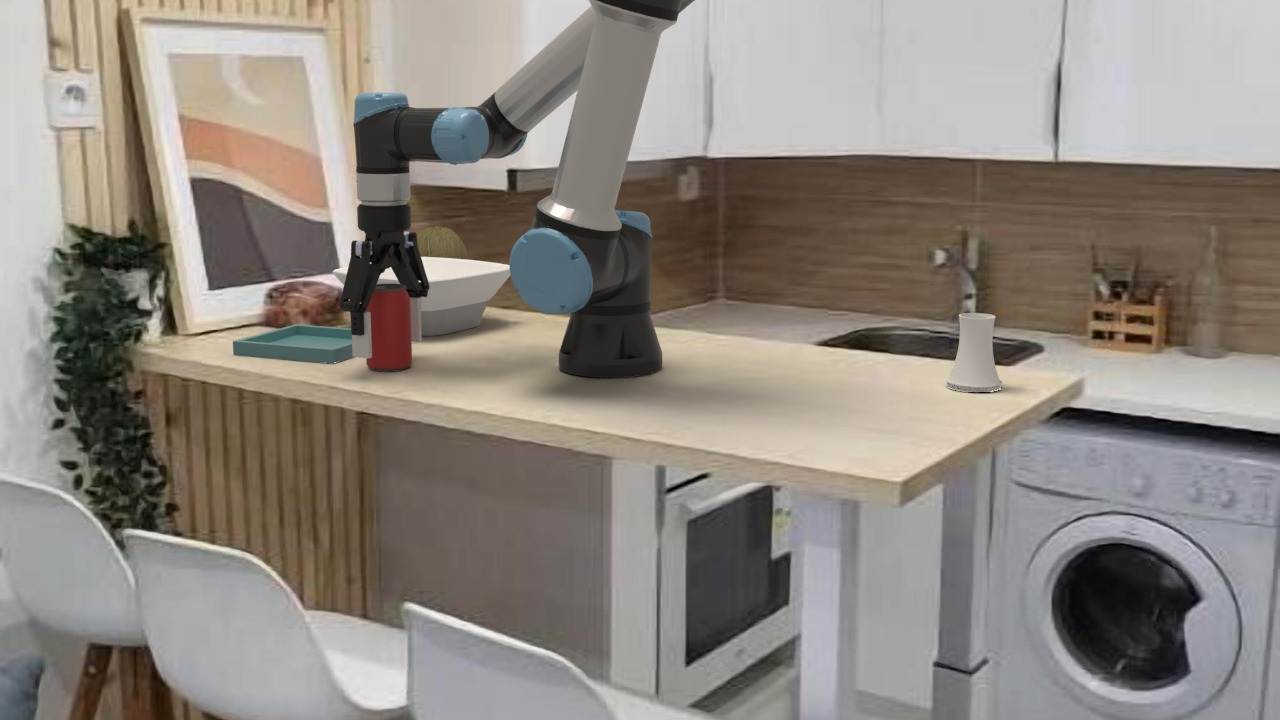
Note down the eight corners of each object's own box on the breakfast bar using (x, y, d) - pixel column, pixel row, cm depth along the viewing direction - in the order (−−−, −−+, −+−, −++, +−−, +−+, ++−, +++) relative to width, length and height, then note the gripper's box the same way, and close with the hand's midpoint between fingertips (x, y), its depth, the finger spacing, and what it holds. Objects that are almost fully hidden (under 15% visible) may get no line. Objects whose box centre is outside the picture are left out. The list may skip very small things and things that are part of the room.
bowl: (321, 330, 231) (318, 270, 229) (425, 310, 251) (424, 254, 249) (427, 346, 217) (425, 282, 215) (529, 324, 237) (528, 265, 235)
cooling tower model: (988, 380, 194) (991, 310, 192) (1011, 392, 186) (1015, 319, 184) (937, 382, 192) (940, 311, 190) (958, 394, 185) (961, 321, 183)
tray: (391, 344, 218) (390, 331, 218) (333, 363, 204) (332, 349, 204) (296, 336, 225) (295, 324, 225) (233, 354, 210) (232, 341, 210)
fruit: (483, 305, 256) (481, 225, 253) (438, 313, 248) (436, 230, 245) (440, 299, 263) (438, 221, 260) (396, 306, 255) (393, 225, 252)
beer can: (402, 373, 198) (399, 290, 195) (359, 371, 199) (356, 288, 197) (418, 364, 204) (416, 283, 202) (376, 362, 205) (374, 282, 203)
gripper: (406, 194, 209) (410, 332, 214) (310, 209, 187) (316, 362, 191) (450, 196, 207) (453, 336, 211) (357, 211, 184) (362, 367, 188)
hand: (388, 348), depth 201 cm, fingers open, 13 cm apart
